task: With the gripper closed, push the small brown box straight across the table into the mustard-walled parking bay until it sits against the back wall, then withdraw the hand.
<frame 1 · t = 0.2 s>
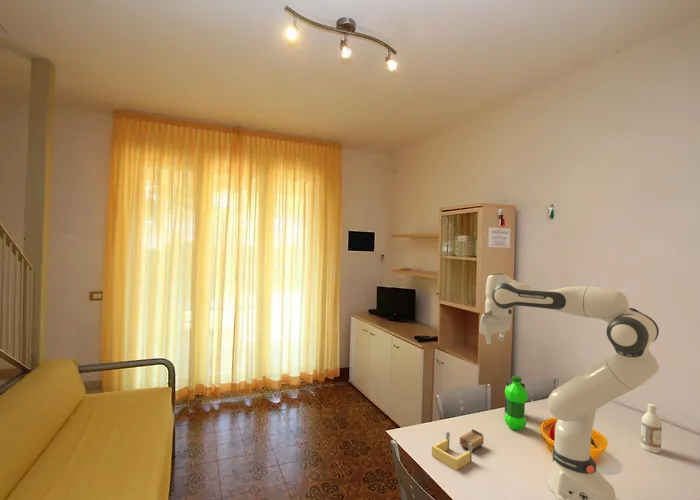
hand: (494, 342, 153), 47 cm above the table, fingers open, 8 cm apart
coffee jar: (514, 415, 188), on the table
bay: (452, 457, 147), on the table
plastic bottle: (515, 428, 174), on the table
small brown box: (471, 446, 156), on the table
bath foam: (650, 449, 158), on the table
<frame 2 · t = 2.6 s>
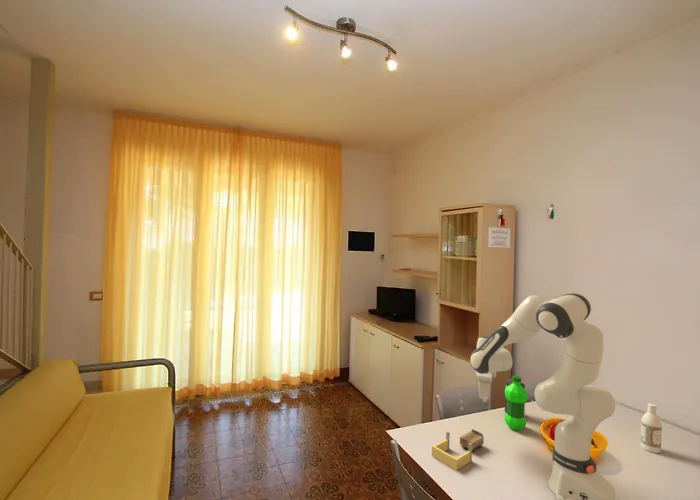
hand: (484, 400, 162), 18 cm above the table, fingers closed
nothing on the table moved.
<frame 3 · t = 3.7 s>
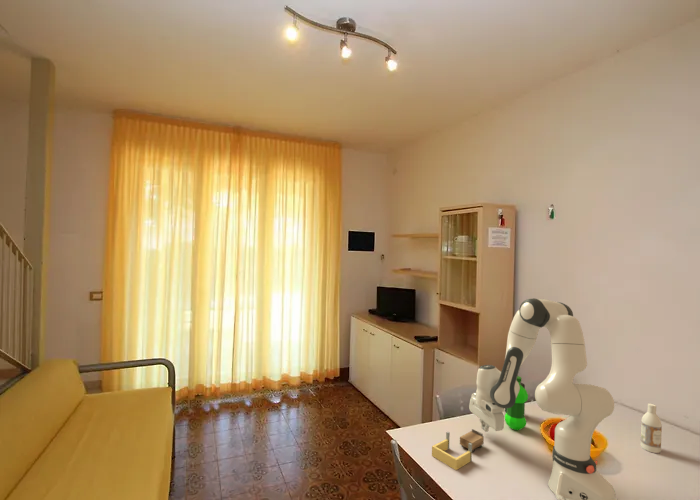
hand: (484, 430, 163), 4 cm above the table, fingers closed
nothing on the table moved.
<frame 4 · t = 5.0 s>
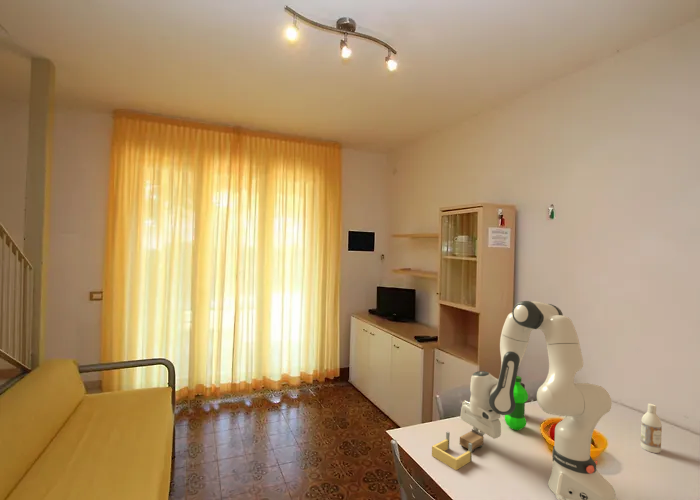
hand: (479, 438, 160), 2 cm above the table, fingers closed
small brown box: (471, 446, 156), on the table, touching gripper
everything else where it was.
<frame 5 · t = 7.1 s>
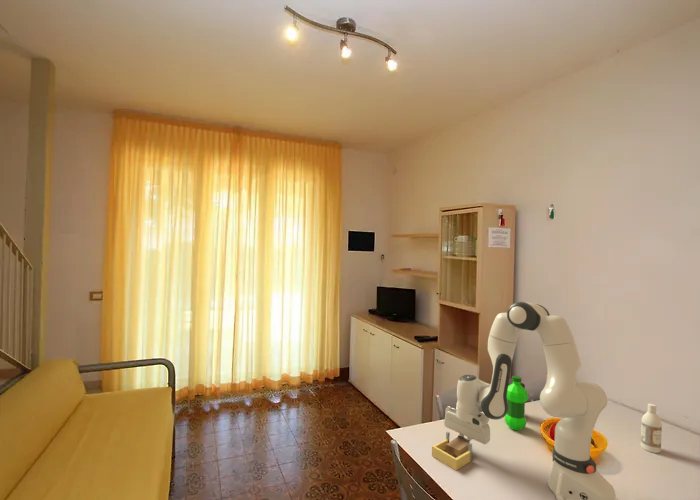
hand: (465, 444, 154), 2 cm above the table, fingers closed, pressing on small brown box
small brown box: (458, 453, 150), on the table, touching gripper
everything else where it was.
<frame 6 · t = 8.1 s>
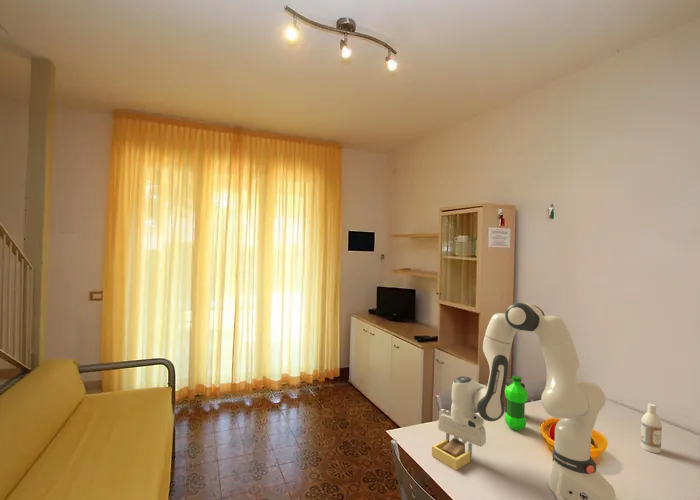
hand: (460, 447, 151), 2 cm above the table, fingers closed, pressing on small brown box
small brown box: (453, 457, 148), on the table, touching gripper
everything else where it was.
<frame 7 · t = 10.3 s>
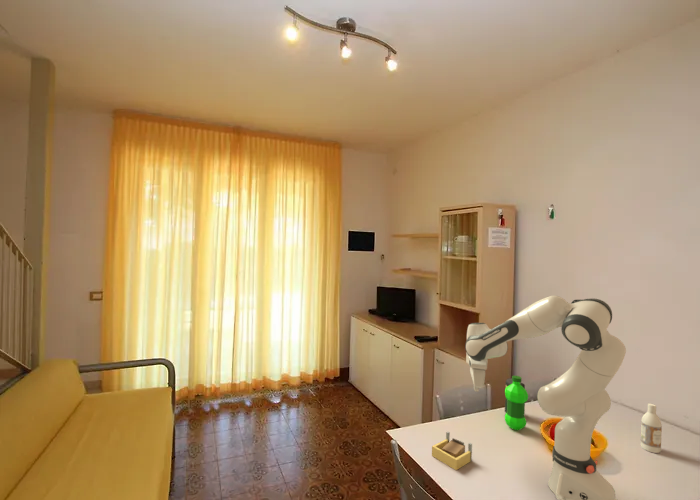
hand: (476, 390, 155), 25 cm above the table, fingers closed
small brown box: (453, 457, 148), on the table
everything else where it was.
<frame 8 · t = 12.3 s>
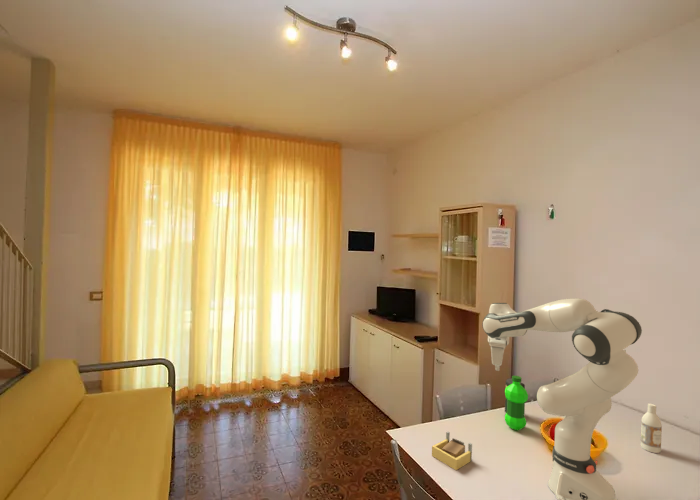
hand: (497, 369, 157), 34 cm above the table, fingers closed
nothing on the table moved.
at the end: small brown box inside the target area (1.0 cm from its centre), on the table; small brown box tilted 0°; small brown box moved 13.5 cm from its start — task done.
